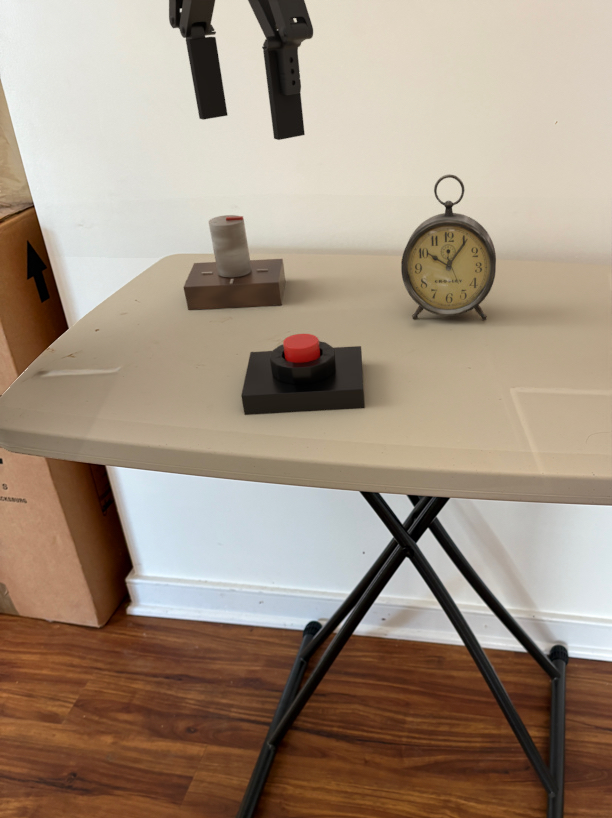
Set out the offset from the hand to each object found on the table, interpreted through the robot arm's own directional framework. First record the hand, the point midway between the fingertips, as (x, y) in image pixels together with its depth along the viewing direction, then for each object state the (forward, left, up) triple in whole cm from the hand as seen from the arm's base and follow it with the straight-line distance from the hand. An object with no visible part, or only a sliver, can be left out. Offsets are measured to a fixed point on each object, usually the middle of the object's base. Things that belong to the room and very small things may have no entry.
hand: (249, 127), depth 70 cm
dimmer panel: (-7, +21, -23) cm, 32 cm away
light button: (+3, -7, -20) cm, 21 cm away
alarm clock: (+20, +10, -24) cm, 33 cm away
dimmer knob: (-7, +21, -20) cm, 30 cm away
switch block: (+3, -7, -23) cm, 25 cm away
